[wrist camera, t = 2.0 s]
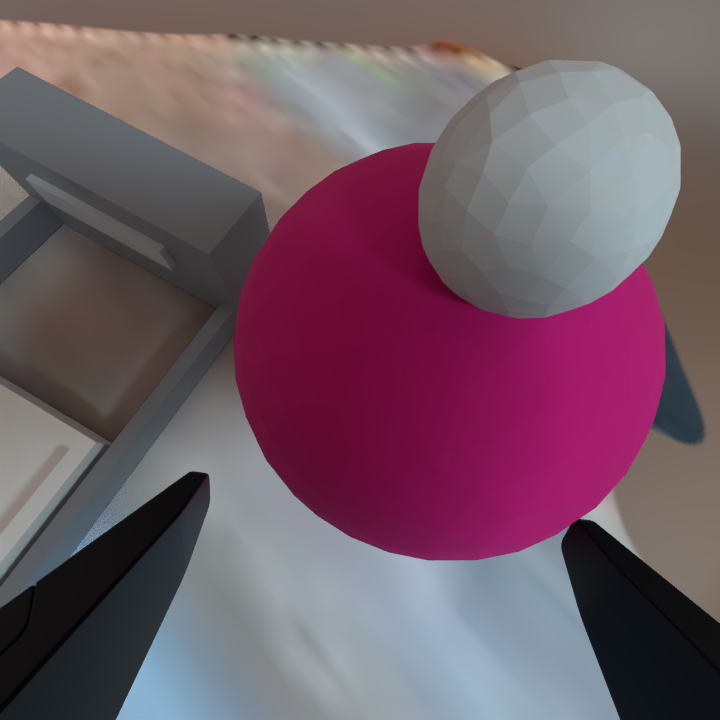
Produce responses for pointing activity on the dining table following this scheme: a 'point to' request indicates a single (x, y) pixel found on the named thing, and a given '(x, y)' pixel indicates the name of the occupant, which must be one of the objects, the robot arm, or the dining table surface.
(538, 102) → the pepper mill
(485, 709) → the dining table surface
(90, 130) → the housing
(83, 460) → the tray
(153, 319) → the dining table surface
